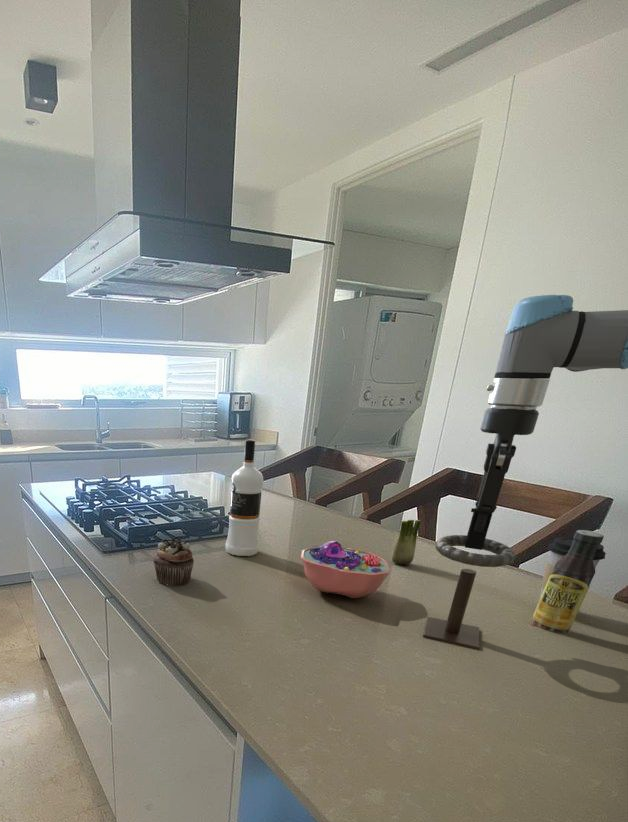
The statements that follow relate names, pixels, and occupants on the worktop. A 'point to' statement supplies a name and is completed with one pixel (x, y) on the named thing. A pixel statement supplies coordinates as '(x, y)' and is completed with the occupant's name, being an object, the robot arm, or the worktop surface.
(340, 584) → the cell model
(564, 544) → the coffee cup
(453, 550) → the ring
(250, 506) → the vodka
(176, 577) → the cupcake
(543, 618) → the sauce bottle
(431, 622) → the post stand
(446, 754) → the worktop surface
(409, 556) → the fennel bulb
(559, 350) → the robot arm
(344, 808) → the worktop surface
